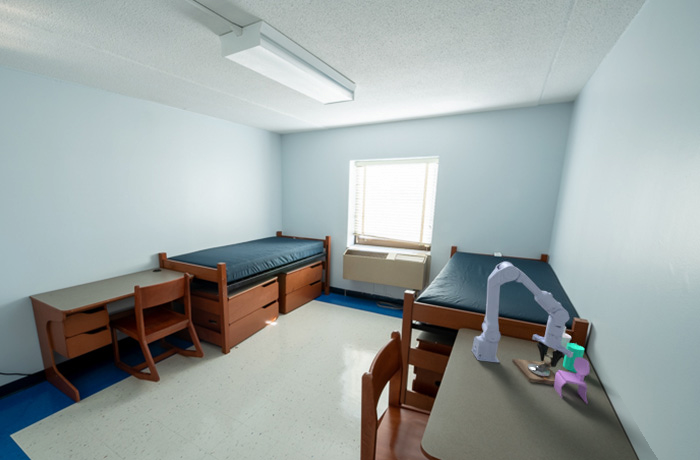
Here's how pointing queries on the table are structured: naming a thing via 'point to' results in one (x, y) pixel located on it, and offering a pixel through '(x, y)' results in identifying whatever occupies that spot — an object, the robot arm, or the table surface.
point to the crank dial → (542, 366)
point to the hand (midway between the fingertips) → (548, 363)
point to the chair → (574, 377)
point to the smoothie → (565, 339)
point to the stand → (529, 375)
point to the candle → (577, 352)
